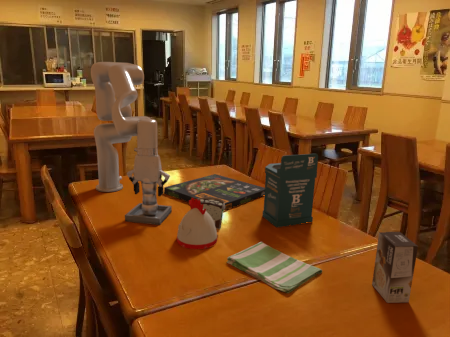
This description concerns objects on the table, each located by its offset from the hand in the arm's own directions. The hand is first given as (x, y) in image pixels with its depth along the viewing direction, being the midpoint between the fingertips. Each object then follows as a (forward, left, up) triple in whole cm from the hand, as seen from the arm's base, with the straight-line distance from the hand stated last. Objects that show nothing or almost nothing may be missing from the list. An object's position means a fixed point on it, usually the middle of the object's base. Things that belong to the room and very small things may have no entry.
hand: (148, 194), depth 147 cm
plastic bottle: (0, 0, -9) cm, 9 cm away
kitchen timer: (+16, +24, -10) cm, 30 cm away
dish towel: (+29, +51, -10) cm, 59 cm away
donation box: (-13, +53, -10) cm, 55 cm away
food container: (+1, +26, -9) cm, 28 cm away
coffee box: (+35, +83, -9) cm, 91 cm away
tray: (0, 0, -9) cm, 9 cm away
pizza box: (-35, +20, -10) cm, 42 cm away
